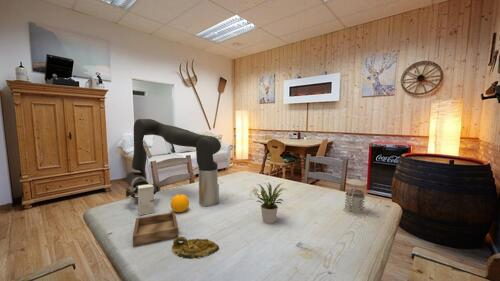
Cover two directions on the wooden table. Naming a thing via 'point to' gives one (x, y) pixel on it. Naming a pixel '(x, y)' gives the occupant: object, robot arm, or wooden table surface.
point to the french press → (355, 198)
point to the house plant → (269, 203)
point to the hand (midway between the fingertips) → (144, 194)
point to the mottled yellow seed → (193, 247)
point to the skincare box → (145, 199)
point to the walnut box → (155, 229)
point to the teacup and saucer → (255, 191)
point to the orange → (179, 203)
